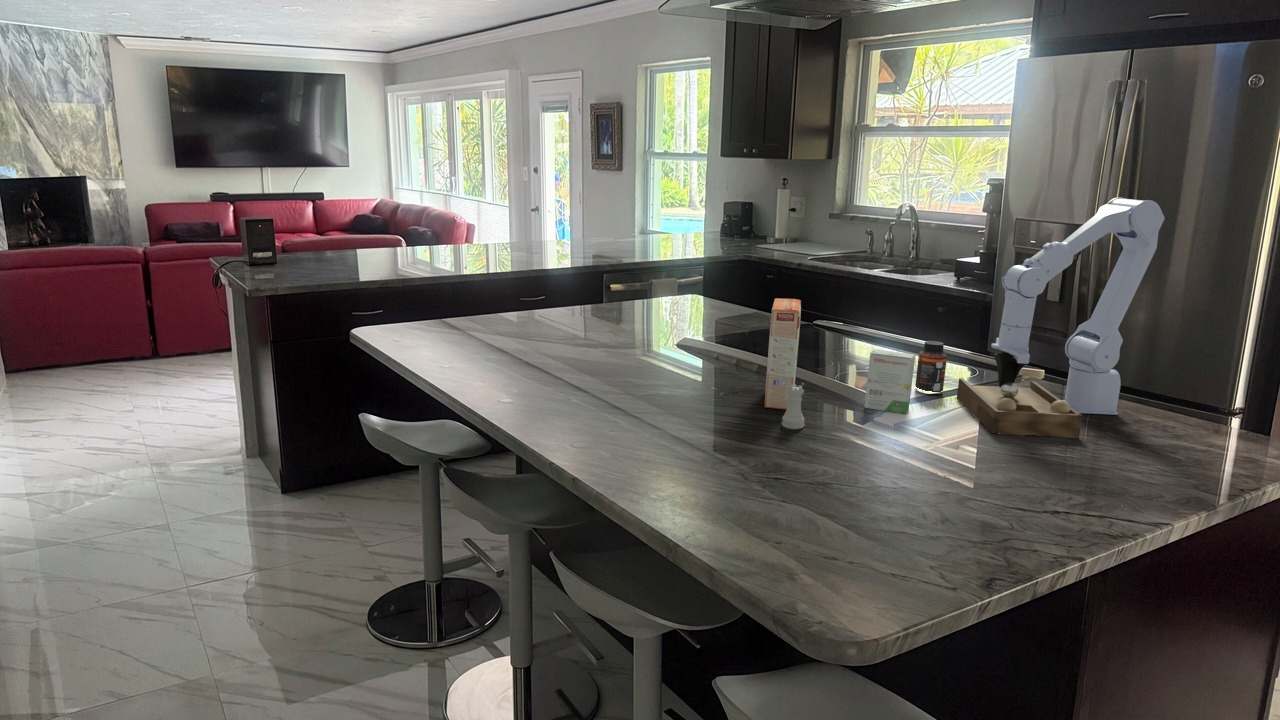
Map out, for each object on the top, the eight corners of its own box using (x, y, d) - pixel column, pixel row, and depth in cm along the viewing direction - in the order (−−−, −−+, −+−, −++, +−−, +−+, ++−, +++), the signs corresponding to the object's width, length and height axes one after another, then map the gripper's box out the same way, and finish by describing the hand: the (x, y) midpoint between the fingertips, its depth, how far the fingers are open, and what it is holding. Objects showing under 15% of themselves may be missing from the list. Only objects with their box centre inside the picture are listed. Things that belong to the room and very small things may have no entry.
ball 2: (1064, 415, 166) (1066, 398, 166) (1071, 420, 163) (1074, 403, 162) (1046, 414, 167) (1048, 397, 166) (1053, 419, 163) (1055, 402, 163)
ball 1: (1011, 412, 167) (1013, 396, 166) (1017, 418, 164) (1020, 401, 163) (993, 411, 167) (995, 395, 166) (999, 417, 164) (1001, 400, 163)
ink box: (863, 408, 178) (869, 353, 175) (868, 402, 182) (873, 348, 179) (906, 414, 174) (912, 358, 171) (910, 408, 179) (916, 353, 176)
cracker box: (793, 411, 174) (800, 310, 169) (763, 408, 175) (769, 308, 170) (795, 392, 188) (802, 298, 182) (767, 390, 189) (773, 296, 184)
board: (1031, 401, 186) (1034, 381, 185) (1078, 438, 163) (1082, 415, 161) (956, 398, 187) (959, 378, 186) (992, 434, 164) (995, 411, 162)
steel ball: (1017, 379, 177) (1020, 385, 174) (1016, 395, 178) (1019, 400, 175) (999, 379, 178) (1002, 385, 175) (998, 395, 179) (1001, 400, 176)
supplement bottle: (944, 396, 188) (950, 346, 185) (916, 394, 189) (921, 344, 186) (940, 389, 193) (946, 340, 190) (913, 387, 194) (918, 338, 192)
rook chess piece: (806, 424, 166) (809, 384, 164) (802, 431, 162) (805, 390, 160) (783, 421, 168) (786, 382, 166) (779, 428, 164) (782, 388, 162)
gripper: (985, 316, 182) (975, 377, 185) (1008, 331, 168) (996, 397, 171) (1019, 318, 181) (1008, 380, 185) (1044, 333, 167) (1032, 400, 171)
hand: (1005, 388), depth 178 cm, fingers closed, pressing on steel ball
